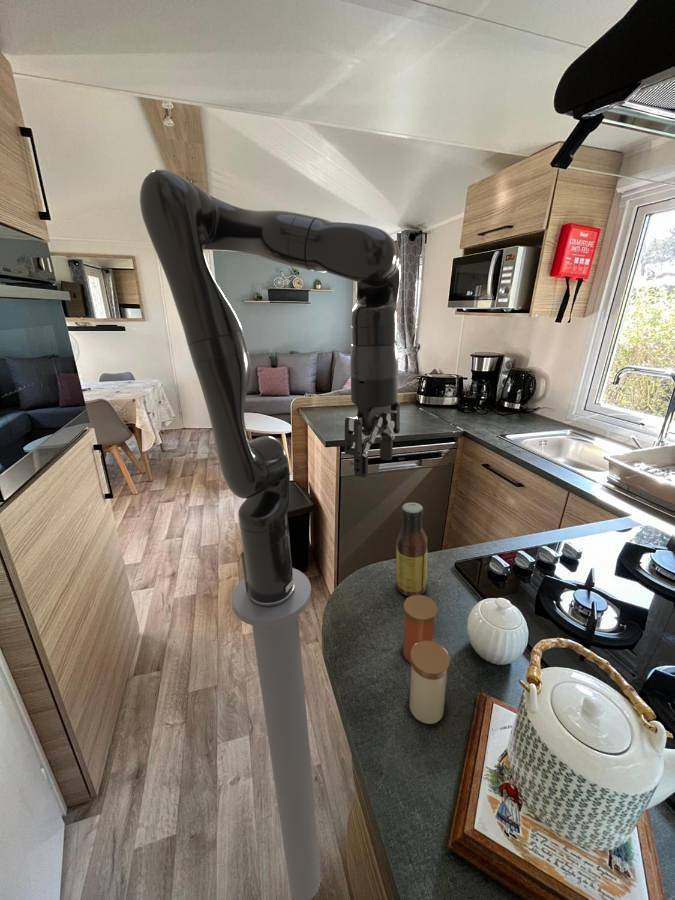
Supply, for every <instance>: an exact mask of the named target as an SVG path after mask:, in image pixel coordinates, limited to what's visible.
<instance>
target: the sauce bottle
mask: <svg viewBox="0 0 675 900" xmlns="http://www.w3.org/2000/svg"><path fill="white" fill-rule="evenodd" d="M401 514H402V523H401V528H400V529H399V530H400V531H399V533H398V534H397V537H396V541H395V543H396V544H395V549H396V550H395V552H396V554H395V559H396V561H395V563H396V564H395V565H396V568H395V569H396V570H395V571H396V576H395V577H396V586H397V589H398V591H399V592H400V593H401V594H402V595H404V596H407V597H410V596H413V595H423V594H424V593H425V591H426V588H427V580H428V579H427V578H428V550H429V549H428V536H427V533H426V531H425V530H424V528H423V516H424V515H423V514H424V508H423V506H422V505H421V504H420V503H418V502H406V503H403V505H402V506H401Z"/></svg>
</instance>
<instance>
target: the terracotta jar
mask: <svg viewBox="0 0 675 900" xmlns="http://www.w3.org/2000/svg"><path fill="white" fill-rule="evenodd" d="M403 615H404V618H403V619H404V620H403V644H402V654H403V657H404V658H405V660H406V661H407V662H409V663H410V664H411V662H410V653H411V649H412V647H413V646H414V645H415V644H416V643H418V642H421V641H433V642H435V632H436V631H435V629H436V620H437V617H438V605H437V603H436V602H435V601H434V600H433V599H431V598H430V597H428V596H426V595H423V594H421V595H413V596H407V598H406V599H405V600H404V602H403Z"/></svg>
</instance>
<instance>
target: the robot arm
mask: <svg viewBox="0 0 675 900" xmlns="http://www.w3.org/2000/svg"><path fill="white" fill-rule="evenodd" d="M139 205H140V212H141V217H142V220H143V223H144V226H145V228H146V231H147V233H148V236H149V238H150V241H151V244H152V247H153V249H154V251H155V253H156V255H157V258H158V260H159V263H160V265H161V267H162V270H163V271H164V275H165V278H166V280H167V283H168V286H169V289H170V292H171V294H172V298H173V301H174V304H175V308H176V311H177V314H178V316H179V320H180V323H181V326H182V330H183V334H184V337H185V340H186V341H185V342H186V344H187V348H188V351H189V354H190V358H191V361H192V364H193V368H194V370H195V373H196V376H197V379H198V381H199V385H200V387H201V391H202V396H203V398H204V402H205V405H206V410H207V411H208V412H207V413H208V416H209V420H210V425H211V430H212V434H213V438H214V445H215V449H216V450H215V451H216V454H217V460H218V464H219V467H220V472H221V474H222V477H223V480H224V482H225V484H226V486H227V487H228V489H229V490H230V491H231V493H233V495H235V496H236V497H238V498H240V499H245V500H244V501H243V502H242V504H241V505H240V506H239V509H238V512H237V516H238V524H239V530H240V531H239V532H240V538H241V545H242V552H241V553H240V557H241V565H242V572H243V578H244V579H245V586H246V591H247V592H248V593H249V598H250V600H251V601H252V602H253V603H254V604H255V605H257V606H260V607H274V606H278V605H281V604H283V603H285V602H286V601H287V600H289V599H290V598H291V596H292V595H293V593H294V581H293V571H292V568H293V561H292V551H291V549H292V548H291V538H290V529H289V528H290V527H289V526H290V525H289V518H288V516H289V515H288V510H289V509H290V508H289V507H290V506H291V505H290V504H291V474H290V463H289V457H288V454H287V452H286V450H285V448H284V446H283V444H282V443H281V442H280V441H279V440H277V438H275V437H273V436H270V435H263V436H259V437H256V438H253V439H251V440H249V437H248V433H247V428H246V423H245V405H246V399H247V394H248V389H249V385H250V379H251V371H252V362H251V356H250V353H249V350H248V346H247V341H246V338H245V335H244V330H243V327H242V325H241V322H240V321H239V319H238V317H237V314H236V312H235V311H234V309H233V308H232V306H231V304H230V302H229V301H228V299H227V298H226V297H225V295H224V293H223V291H222V290H221V288H220V286H219V285H218V283H217V282H216V280H215V278H214V276H213V275H212V274H213V273H212V272H211V269H210V268H209V264H208V262H207V259H206V256H205V252H204V251H229V252H237V253H242V254H249V255H251V256H256V257H259V258H263V259H266V260H270V261H273V262H276V263H279V264H283V265H287V266H291V267H294V268H297V269H298V268H299V269H302V270H307V271H311V272H317V273H328V274H331V275H334V276H337V277H340V278H343V279H347V280H350V281H353V282H356V289H355V290H356V291H355V292H356V293H355V294H356V295H355V297H356V298H355V299H356V302H355V305H354V307H353V308H352V311H351V317H350V333H351V334H350V335H351V351H350V360H349V361H350V363H349V366H350V401H351V403H352V404H353V405H355V406H356V408H357V410H356V411H357V412H356V415H355V417H350V416H346V417H345V418H344V454H345V455H349V456H353V473H354V475H355V476H356V477H360V478H363V479H365V478H367V477H368V475H369V455H368V453H369V450H370V449H371V448H370V447H371V445H373V444H374V443H375V441H376V439H377V437H378V436H379V438H380V439H379V458H380V460H384V461H391V460H392V459H393V453H394V452H393V451H394V450H393V448H394V447H393V446H394V444H393V442H394V440H395V438H396V434H400V430H401V425H400V424H401V417H400V415H401V411H400V406H401V405H400V401H398V398H399V397H398V394H399V393H398V392H399V391H398V390H399V389H398V388H399V352H398V301H399V293H400V286H401V285H400V284H401V275H402V273H401V272H402V256H401V250H400V248H399V245H398V244H397V242H396V240H394V238H392V236H391V235H390V234H389V233H388V232H387V231H386V230H383V229H381V228H379V227H376V226H372V225H367V224H361V223H353V222H351V223H350V222H338V221H330V220H328V219H326V218H321V217H318V216H313V215H308V214H304V213H299V212H293V211H289V210H288V211H286V210H253V209H246V208H242V207H239V206H235V205H232V204H230V203H227V202H225V201H224V200H221V199H219V198H216V197H214V196H213V195H210V194H208V193H207V192H206V191H205V190H204V189H203V188H201V187H199V186H198V185H197V184H195V183H193V182H191V181H189V180H188V179H186V178H185V177H183V176H181V175H179V174H178V173H175V172H172V171H170V170H165V169H154V170H152V171H151V172H149V173H148V174H147V175H146V176H145V177H144V179H143V181H142V183H141V186H140V191H139ZM393 423H394V424H393ZM352 442H353V443H352Z"/></svg>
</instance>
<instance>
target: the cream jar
mask: <svg viewBox="0 0 675 900" xmlns="http://www.w3.org/2000/svg"><path fill="white" fill-rule="evenodd" d="M410 662H411V663H410ZM410 662H409V663H410V665H411V666H410V682H409V683H410V685H409V703H408V705H409V710H410V712H411V714H412V716H413V717H414V718H415V719H416V720H418V722H421V723H423V724H428V725H433V724H436V723H439V721H440V720H442V719H443V716H444V713H445V712H444V711H445V702H446V691H447V683H448V682H447V680H448V673H449V671H450V667H451V658H450V655H449V653H448V650H447V649H446V648H445V647H444V646H443V645H441V644H440V643H438V642H436V641H434V642H433V641H421V642H418V643H416V644H415V645H414V646H413V647H412V649H411V653H410Z"/></svg>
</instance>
